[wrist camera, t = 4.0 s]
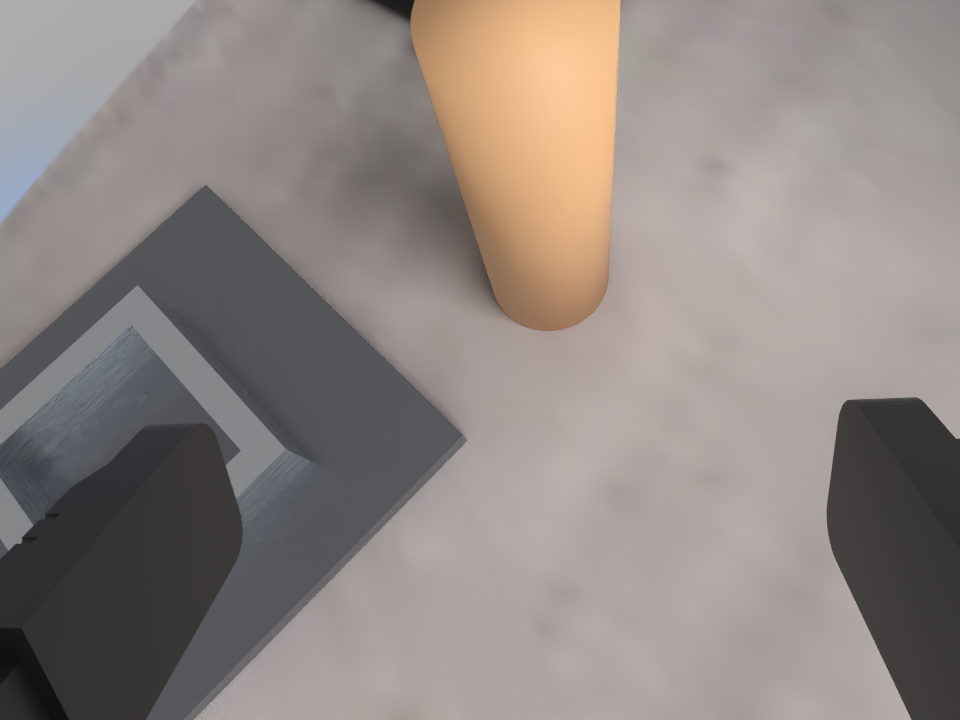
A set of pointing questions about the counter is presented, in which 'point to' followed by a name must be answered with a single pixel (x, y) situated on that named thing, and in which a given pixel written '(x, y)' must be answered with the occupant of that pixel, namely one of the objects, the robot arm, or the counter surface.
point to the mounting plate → (223, 420)
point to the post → (529, 141)
